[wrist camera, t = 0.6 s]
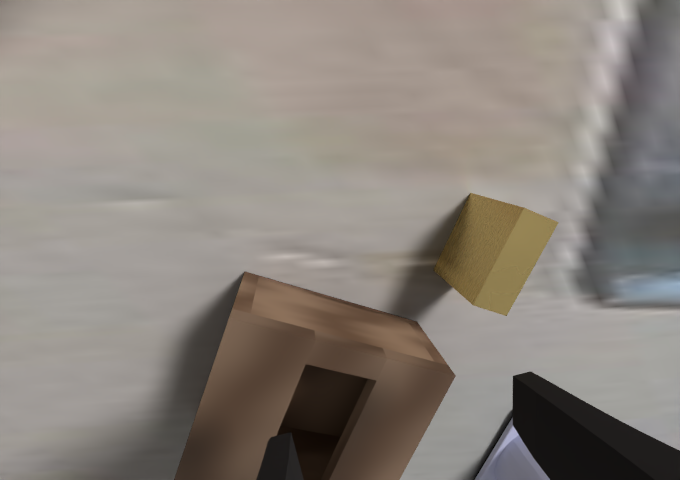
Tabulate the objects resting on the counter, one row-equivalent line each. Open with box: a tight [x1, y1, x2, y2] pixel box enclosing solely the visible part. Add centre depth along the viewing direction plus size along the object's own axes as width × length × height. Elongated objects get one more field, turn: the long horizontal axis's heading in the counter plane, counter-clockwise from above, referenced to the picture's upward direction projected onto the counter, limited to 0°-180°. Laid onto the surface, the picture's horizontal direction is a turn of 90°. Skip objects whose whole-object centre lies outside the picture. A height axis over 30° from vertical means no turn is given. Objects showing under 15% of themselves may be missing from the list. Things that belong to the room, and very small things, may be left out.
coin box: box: [174, 272, 455, 480], centre depth 18 cm, size 11×10×5 cm
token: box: [434, 193, 558, 316], centre depth 17 cm, size 2×5×4 cm, turn 159°
